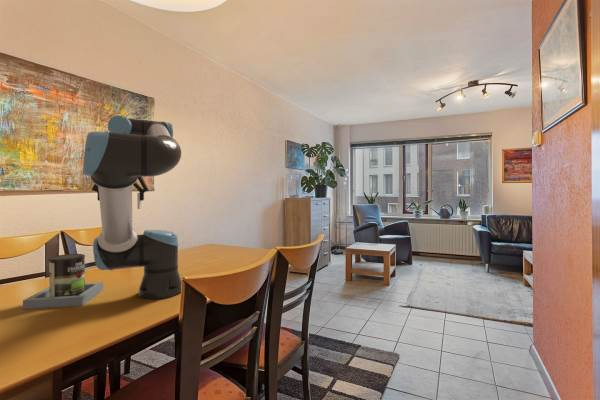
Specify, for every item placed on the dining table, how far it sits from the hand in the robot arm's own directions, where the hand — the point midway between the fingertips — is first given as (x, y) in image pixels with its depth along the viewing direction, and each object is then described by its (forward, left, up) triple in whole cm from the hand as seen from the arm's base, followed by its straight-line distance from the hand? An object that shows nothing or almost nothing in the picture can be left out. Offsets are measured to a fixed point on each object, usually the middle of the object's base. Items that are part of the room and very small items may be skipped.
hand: (121, 208), depth 127 cm
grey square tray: (+13, +15, -31) cm, 37 cm away
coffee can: (+13, +15, -30) cm, 36 cm away
